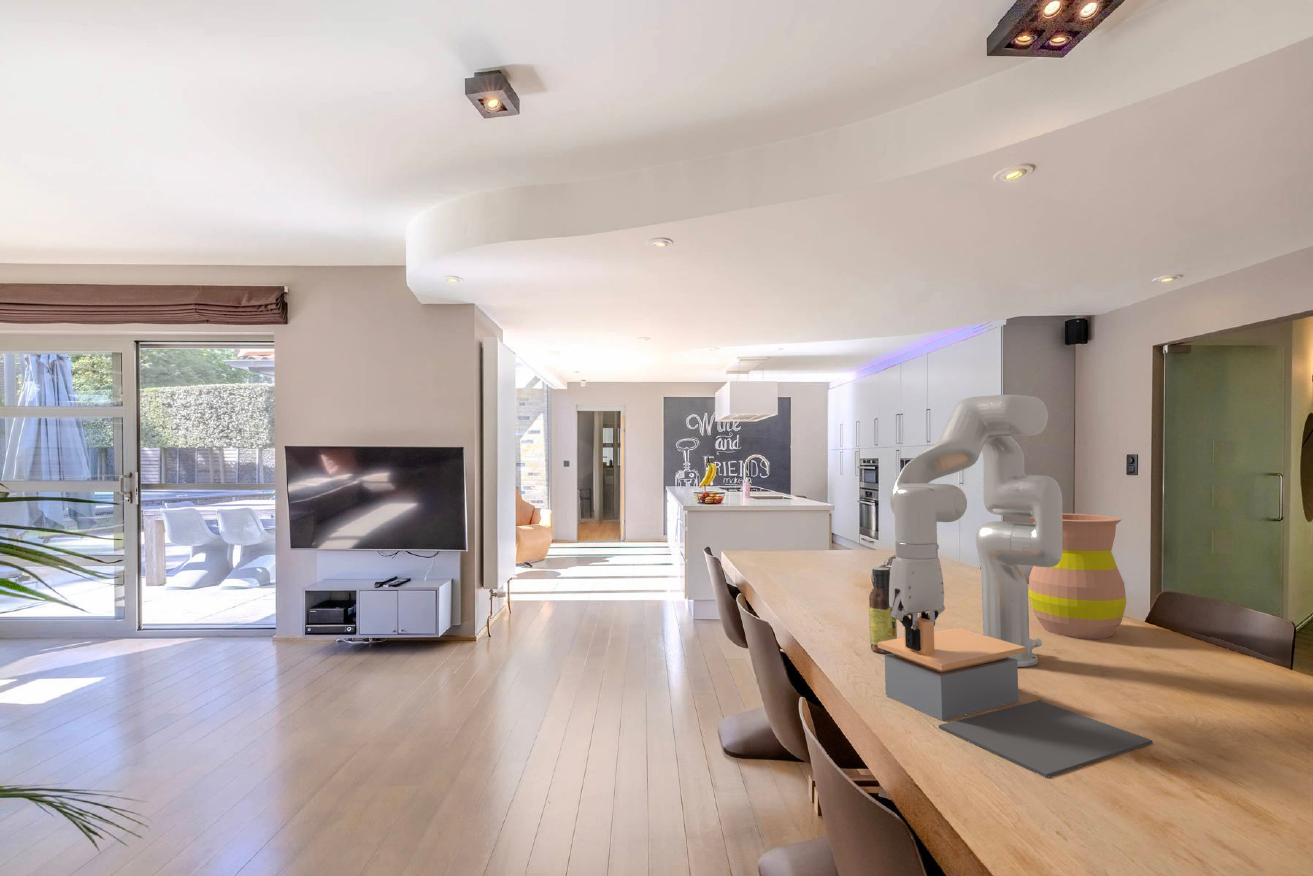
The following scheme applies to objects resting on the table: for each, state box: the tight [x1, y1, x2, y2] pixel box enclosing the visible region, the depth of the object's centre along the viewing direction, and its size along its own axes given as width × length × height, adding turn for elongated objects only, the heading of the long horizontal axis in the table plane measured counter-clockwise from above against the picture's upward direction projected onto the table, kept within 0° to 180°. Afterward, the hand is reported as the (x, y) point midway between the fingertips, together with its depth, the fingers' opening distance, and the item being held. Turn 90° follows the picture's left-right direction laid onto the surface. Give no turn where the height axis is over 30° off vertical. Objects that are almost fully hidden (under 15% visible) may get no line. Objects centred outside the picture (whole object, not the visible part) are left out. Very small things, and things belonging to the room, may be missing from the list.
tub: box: [884, 653, 1020, 721], centre depth 131 cm, size 20×14×8 cm
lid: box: [878, 615, 1026, 673], centre depth 131 cm, size 22×16×8 cm
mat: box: [938, 699, 1154, 778], centre depth 113 cm, size 26×20×1 cm
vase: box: [1028, 513, 1127, 640], centre depth 177 cm, size 22×22×30 cm
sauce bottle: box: [868, 567, 898, 654], centre depth 163 cm, size 7×6×20 cm
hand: (919, 646), depth 128 cm, fingers closed on lid, 2 cm apart
